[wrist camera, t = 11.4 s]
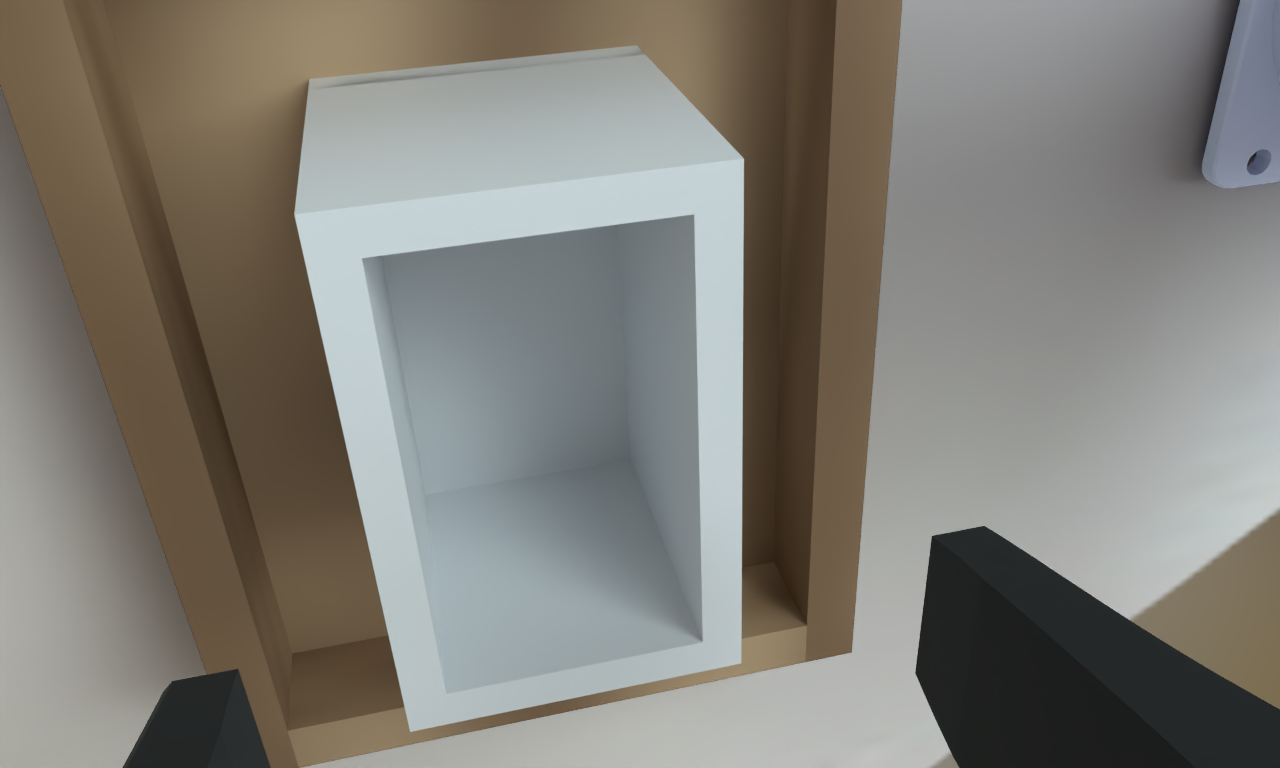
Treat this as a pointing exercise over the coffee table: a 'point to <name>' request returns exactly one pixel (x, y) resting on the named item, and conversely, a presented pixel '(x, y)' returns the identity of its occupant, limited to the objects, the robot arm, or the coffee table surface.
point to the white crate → (534, 369)
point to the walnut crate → (290, 334)
